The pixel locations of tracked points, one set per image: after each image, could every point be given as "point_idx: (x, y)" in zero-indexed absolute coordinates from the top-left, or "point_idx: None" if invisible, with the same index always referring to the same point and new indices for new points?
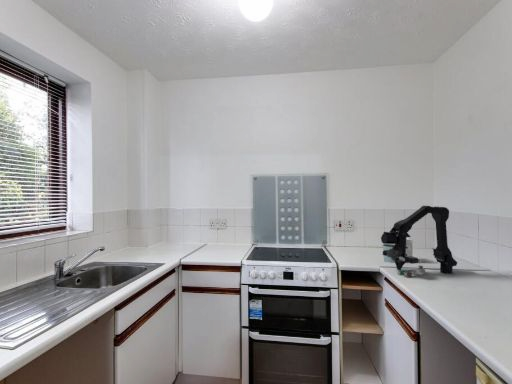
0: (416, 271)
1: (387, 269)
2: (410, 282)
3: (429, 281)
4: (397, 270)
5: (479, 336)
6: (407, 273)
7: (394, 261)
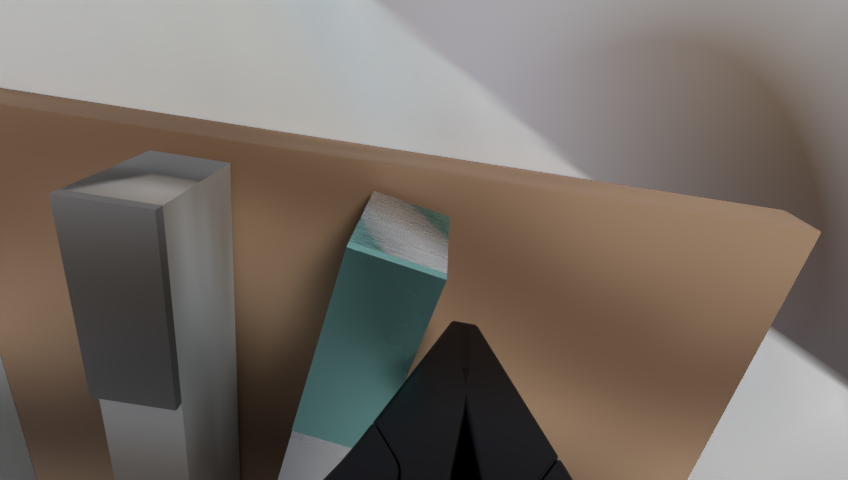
0: None
1: (808, 473)
2: (49, 49)
3: (5, 401)
4: (436, 263)
5: None
6: (71, 213)
7: None
